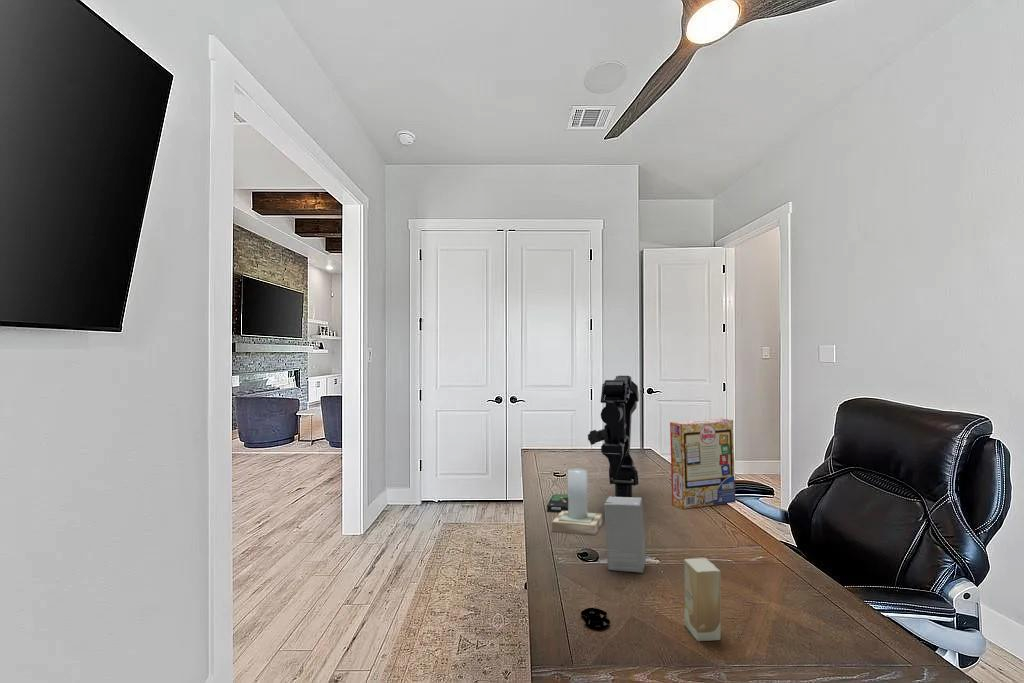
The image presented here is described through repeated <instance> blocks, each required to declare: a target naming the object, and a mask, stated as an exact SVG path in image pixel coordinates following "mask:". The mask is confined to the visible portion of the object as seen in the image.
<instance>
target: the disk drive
mask: <svg viewBox="0 0 1024 683" xmlns="http://www.w3.org/2000/svg"><path fill="white" fill-rule="evenodd" d="M546 510H547V511H546V512H547V513H557V514H560V512H561V511H562V510H563V511H568V493H567V494H564V493H563V494H561V493H554V494H553V495H551V498H550V499H549V501H548V503H547V505H546Z"/></svg>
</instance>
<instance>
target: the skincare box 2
mask: <svg viewBox="0 0 1024 683" xmlns="http://www.w3.org/2000/svg"><path fill="white" fill-rule="evenodd" d="M683 563H684V564H683V565H684V625H685V627H686V628H687V630H688V632H690V634H691V635H692V636H693V638H695V640H696V641H697V642H706V641H707V642H708V641H710V642H711V641H720V640H721V635H722V634H721V630H722V629H721V570H720V569H719V568H718V567H716V566H715V564H714V563H712V562H711V561H710V560H709V559H708V558H706V557H701V558H685V559H684V561H683Z"/></svg>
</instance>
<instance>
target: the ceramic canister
mask: <svg viewBox="0 0 1024 683" xmlns="http://www.w3.org/2000/svg"><path fill="white" fill-rule="evenodd" d="M567 495H568V517H570V518H573V519H584V518H587V517H588V513H589V512H588V509H589V508H588V470H587V469H585V468H579V467H578V468H577V467H576V468H575V467H574V468H569V469H568V470H567Z"/></svg>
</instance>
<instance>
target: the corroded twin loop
mask: <svg viewBox="0 0 1024 683" xmlns="http://www.w3.org/2000/svg"><path fill="white" fill-rule="evenodd" d="M607 614H608V613H607V611H605V610H602V609H600V608H596V607H588V608H587V607H586V608H584V610H583V609H582V611H581V612H580V615H581V616H582V619H583V621H584V623H585V624H586V626H587V627H588V628H589V629H591V630H596V631H603V630H605V629H606V628H607V627H609V625H610V623H611V621H610V619H609V618H606V616H607Z"/></svg>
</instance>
